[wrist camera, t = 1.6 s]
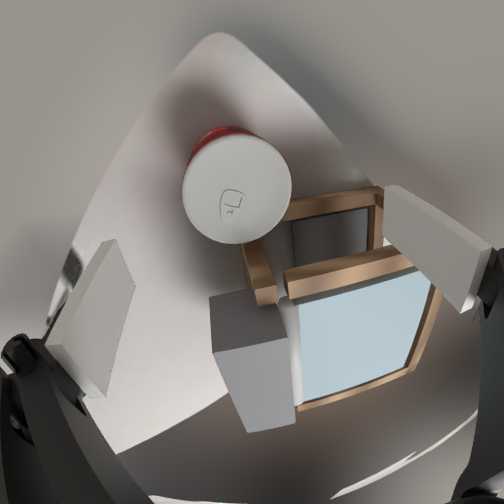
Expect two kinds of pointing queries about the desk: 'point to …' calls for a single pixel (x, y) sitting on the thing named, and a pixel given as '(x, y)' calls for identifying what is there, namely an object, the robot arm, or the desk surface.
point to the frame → (337, 263)
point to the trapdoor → (312, 342)
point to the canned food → (235, 186)
